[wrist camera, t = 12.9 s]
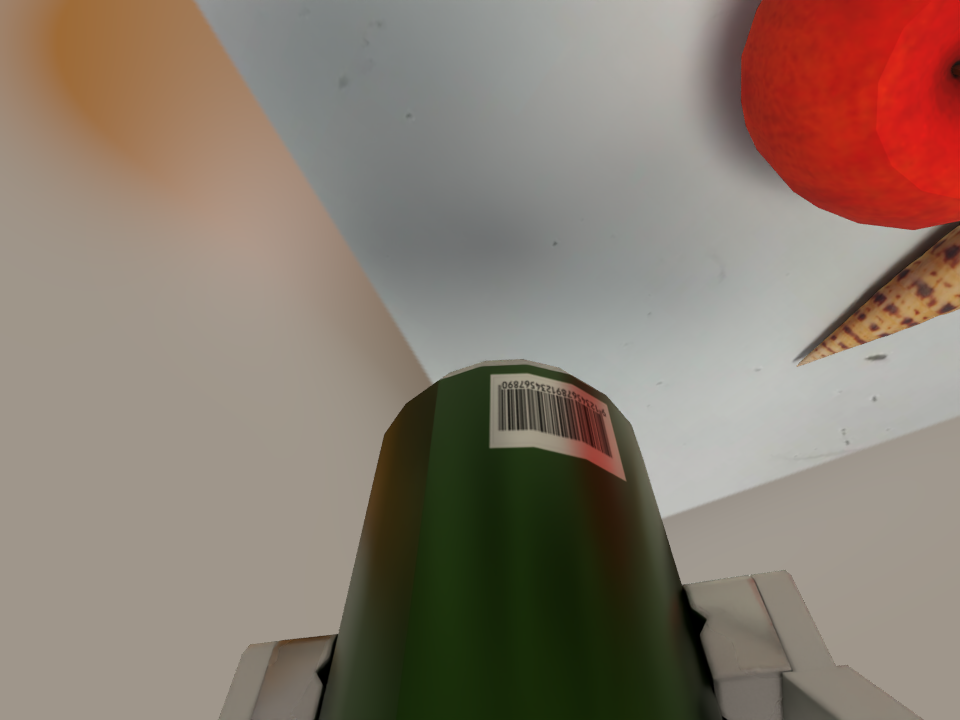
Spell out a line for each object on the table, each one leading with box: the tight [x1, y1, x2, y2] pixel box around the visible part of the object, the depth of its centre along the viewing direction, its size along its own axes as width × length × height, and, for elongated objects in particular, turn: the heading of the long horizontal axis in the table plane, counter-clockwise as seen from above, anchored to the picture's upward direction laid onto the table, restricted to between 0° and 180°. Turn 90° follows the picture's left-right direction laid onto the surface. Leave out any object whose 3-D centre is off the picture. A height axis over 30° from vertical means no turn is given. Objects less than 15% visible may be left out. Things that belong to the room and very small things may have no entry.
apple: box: [741, 0, 960, 230], centre depth 22 cm, size 10×10×12 cm
